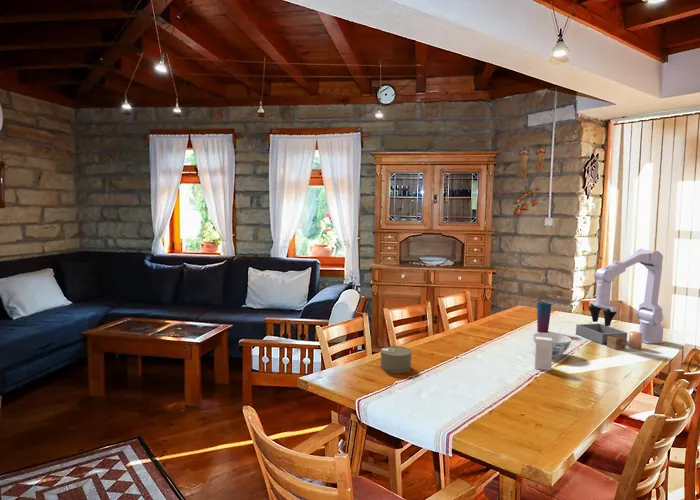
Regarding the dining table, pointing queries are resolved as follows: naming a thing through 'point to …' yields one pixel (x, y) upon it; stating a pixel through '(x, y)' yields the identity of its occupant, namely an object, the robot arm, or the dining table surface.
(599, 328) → the tote
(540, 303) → the cup
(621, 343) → the walnut cube
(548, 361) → the skincare box
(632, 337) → the terracotta cylinder
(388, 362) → the can
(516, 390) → the dining table surface
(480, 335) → the dining table surface
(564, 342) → the chinaware
